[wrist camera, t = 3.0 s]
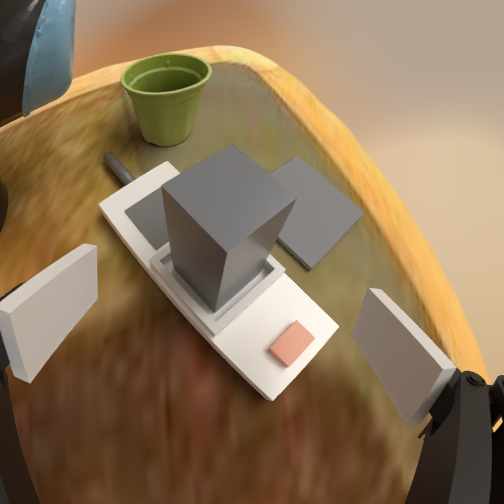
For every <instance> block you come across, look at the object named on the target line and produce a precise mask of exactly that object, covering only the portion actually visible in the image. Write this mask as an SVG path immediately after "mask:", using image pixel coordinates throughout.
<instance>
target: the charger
mask: <svg viewBox="0 0 504 504" xmlns="http://www.w3.org/2000/svg"><path fill="white" fill-rule="evenodd" d="M161 189H162V197H163V204H164V212H165V219H166V225H167V232H168V238H169V244H170V250H171V256H172V262H173V268H174V269H175V270H176V271H177V273H178V274H179V275H180V276H181V277H182V278H183V279H184V280H185V281H186V283H187V284H188V285H189V286H190V287H191V288H192V289H193V290H194V291H195V292H196V294H197V295H198V296H199V297H200V298H201V299H202V300H203V301H204V302H205V303H206V304H207V305H208V307H209V308H210V309H211V310H212V311H213V312H214V313H216V312H217V311H218V310H219V309H220V308H222V307H223V306H224V305H225V304H226V303H227V302H228V301H230V300H231V299H232V298H233V297H234V296H235V295H236V294H237V293H239V292H240V291H241V290H242V289H243V288H244V287H245V286H247V285H248V284H249V283H250V282H251V281H252V280H253V279H254V278H256V277H257V276H258V275H259V274H260V272H261V270H262V268H263V266H264V264H265V262H266V260H267V258H268V256H269V254H270V252H271V250H272V248H273V246H274V244H275V242H276V240H277V238H278V236H279V234H280V232H281V230H282V228H283V226H284V224H285V222H286V220H287V218H288V216H289V214H290V212H291V210H292V208H293V205H294V203H295V201H296V199H297V197H296V196H295V195H294V194H293V193H292V192H291V191H289V190H288V189H287V188H286V187H285V186H284V185H282V184H281V183H280V182H279V181H278V180H276V179H275V178H274V177H273V176H272V175H270V174H269V173H268V172H267V171H266V170H264V169H263V168H262V167H261V166H260V165H258V164H257V163H256V162H255V161H253V160H252V159H251V158H250V157H248V156H247V155H246V154H245V153H243V152H242V151H241V150H240V149H238V148H237V147H236V146H235V145H233V144H232V145H230V146H228V147H226V148H224V149H222V150H220V151H219V152H217V153H215V154H213V155H211V156H210V157H208V158H206V159H204V160H202V161H201V162H199V163H197V164H195V165H194V166H192V167H190V168H189V169H187V170H185V171H183V172H182V173H180V174H178V175H177V176H175V177H173V178H172V179H170V180H168V181H167V182H165V183H164V184H162V185H161Z"/></svg>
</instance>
